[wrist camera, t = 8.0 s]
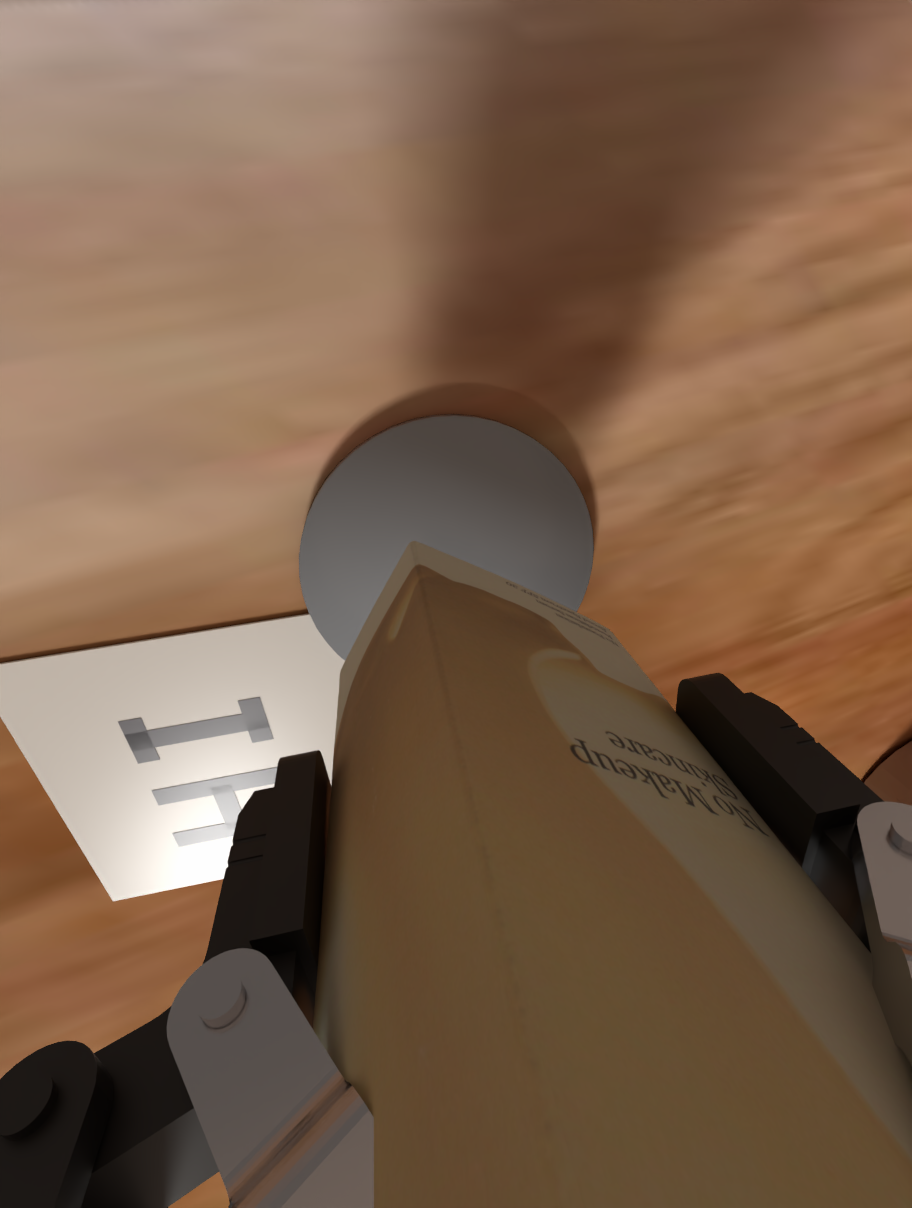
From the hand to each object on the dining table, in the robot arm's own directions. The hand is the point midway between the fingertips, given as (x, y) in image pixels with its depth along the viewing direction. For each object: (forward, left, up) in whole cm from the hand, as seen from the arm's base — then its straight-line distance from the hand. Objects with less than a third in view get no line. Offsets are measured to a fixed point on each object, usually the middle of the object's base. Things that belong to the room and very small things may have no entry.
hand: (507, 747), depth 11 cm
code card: (+10, +7, -9) cm, 15 cm away
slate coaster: (0, 0, -9) cm, 9 cm away
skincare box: (0, 0, -4) cm, 4 cm away
